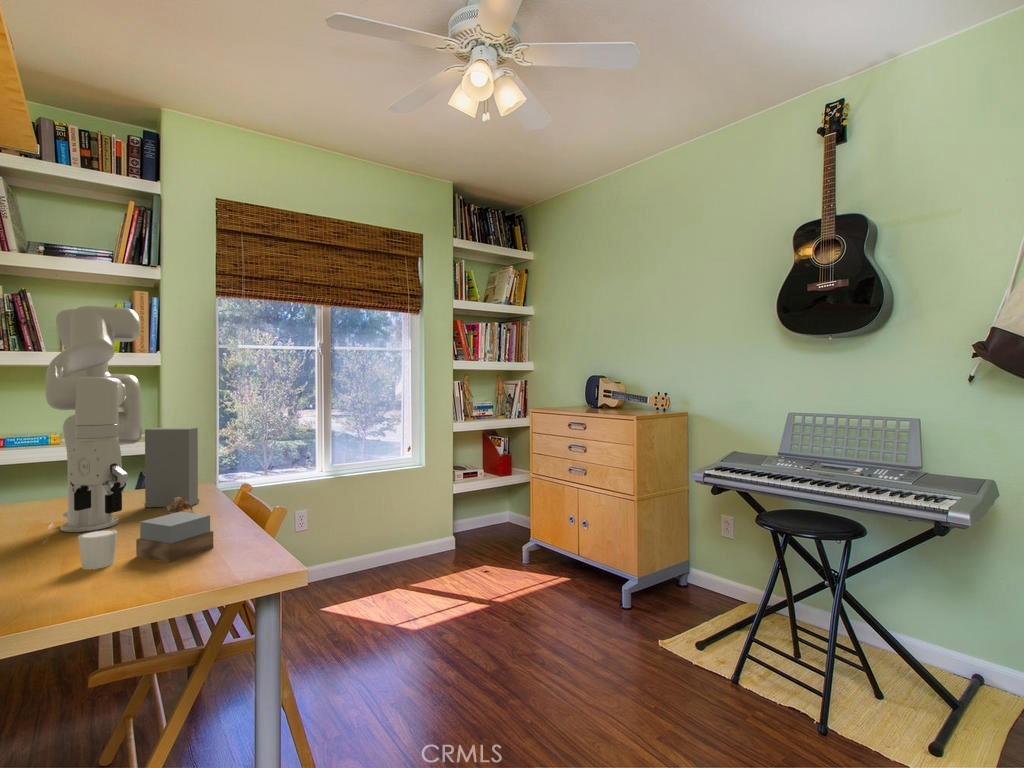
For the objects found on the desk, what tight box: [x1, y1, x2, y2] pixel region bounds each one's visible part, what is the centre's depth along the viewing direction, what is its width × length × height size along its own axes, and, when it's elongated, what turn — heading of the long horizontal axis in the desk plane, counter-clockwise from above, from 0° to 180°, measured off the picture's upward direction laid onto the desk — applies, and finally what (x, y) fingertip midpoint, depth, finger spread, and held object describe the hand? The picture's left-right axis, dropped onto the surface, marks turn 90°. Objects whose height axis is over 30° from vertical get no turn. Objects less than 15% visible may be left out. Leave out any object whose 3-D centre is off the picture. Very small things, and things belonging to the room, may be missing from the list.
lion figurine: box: [165, 497, 195, 514], centre depth 140 cm, size 15×5×9 cm, turn 51°
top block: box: [139, 512, 211, 544], centre depth 125 cm, size 10×10×4 cm
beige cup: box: [77, 529, 118, 571], centre depth 116 cm, size 7×7×7 cm
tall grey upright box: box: [144, 427, 200, 508], centre depth 170 cm, size 14×6×25 cm, turn 93°
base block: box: [135, 530, 214, 563], centre depth 125 cm, size 11×11×4 cm
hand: (98, 510), depth 116 cm, fingers open, 9 cm apart
